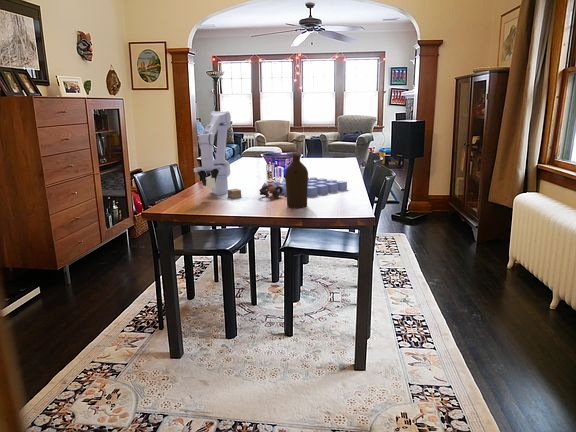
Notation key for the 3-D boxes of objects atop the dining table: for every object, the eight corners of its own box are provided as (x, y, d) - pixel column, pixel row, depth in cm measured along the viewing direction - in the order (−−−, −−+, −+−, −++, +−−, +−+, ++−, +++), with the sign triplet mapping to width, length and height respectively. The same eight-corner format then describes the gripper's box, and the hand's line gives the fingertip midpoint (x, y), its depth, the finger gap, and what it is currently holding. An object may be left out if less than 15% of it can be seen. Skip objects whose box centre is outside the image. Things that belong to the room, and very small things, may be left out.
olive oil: (312, 207, 208) (311, 153, 202) (291, 209, 204) (290, 154, 198) (302, 202, 217) (301, 151, 211) (282, 205, 213) (281, 152, 207)
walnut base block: (227, 197, 232) (227, 189, 231) (236, 196, 235) (235, 188, 234) (232, 198, 228) (232, 191, 227) (241, 197, 231) (240, 189, 230)
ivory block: (203, 187, 226) (202, 178, 225) (211, 186, 229) (210, 177, 228) (207, 189, 223) (206, 179, 222) (215, 187, 225) (214, 178, 224)
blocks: (299, 200, 226) (298, 190, 225) (259, 190, 252) (258, 182, 251) (347, 190, 247) (347, 181, 246) (305, 182, 273) (305, 174, 272)
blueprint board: (216, 197, 235) (216, 196, 235) (235, 194, 242) (235, 193, 242) (233, 202, 221) (233, 201, 221) (253, 199, 228) (253, 198, 228)
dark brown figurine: (266, 202, 222) (259, 187, 223) (262, 207, 231) (256, 192, 232) (287, 194, 226) (280, 179, 227) (283, 198, 235) (276, 184, 236)
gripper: (197, 160, 215) (199, 187, 218) (224, 157, 223) (225, 184, 227) (191, 158, 220) (193, 185, 224) (217, 156, 229) (219, 182, 232)
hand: (209, 184), depth 226 cm, fingers closed on ivory block, 4 cm apart
